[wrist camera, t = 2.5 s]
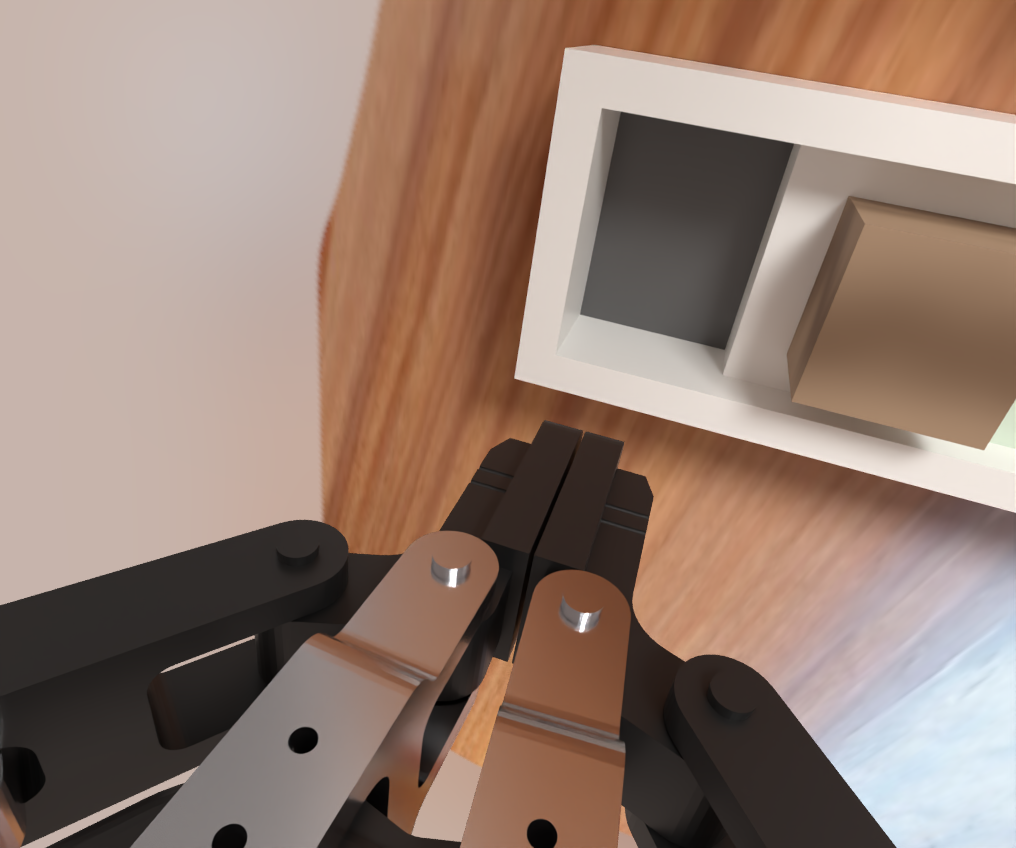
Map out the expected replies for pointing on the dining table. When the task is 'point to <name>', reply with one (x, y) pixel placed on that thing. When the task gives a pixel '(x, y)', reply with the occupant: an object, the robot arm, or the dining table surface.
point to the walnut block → (911, 323)
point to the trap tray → (739, 246)
